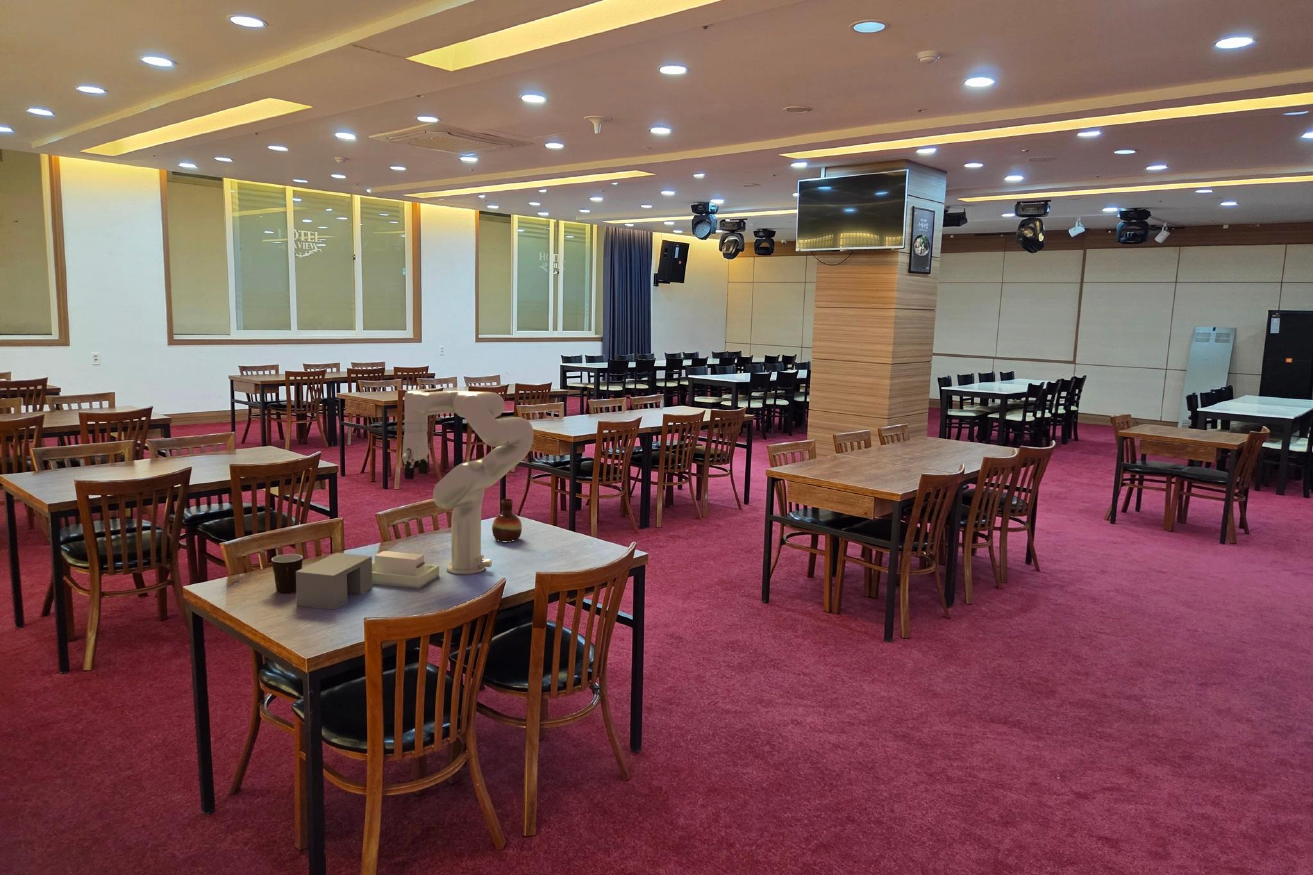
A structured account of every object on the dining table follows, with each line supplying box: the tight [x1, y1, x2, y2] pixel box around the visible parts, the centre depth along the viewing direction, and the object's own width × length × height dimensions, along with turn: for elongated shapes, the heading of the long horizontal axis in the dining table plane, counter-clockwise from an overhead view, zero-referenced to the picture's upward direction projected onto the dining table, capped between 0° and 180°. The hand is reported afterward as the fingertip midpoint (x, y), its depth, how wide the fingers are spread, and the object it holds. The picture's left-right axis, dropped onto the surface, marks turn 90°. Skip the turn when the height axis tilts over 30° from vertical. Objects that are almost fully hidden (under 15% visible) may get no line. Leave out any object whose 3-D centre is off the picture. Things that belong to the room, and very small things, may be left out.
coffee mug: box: [271, 553, 304, 595], centre depth 248 cm, size 12×9×10 cm
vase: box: [491, 498, 523, 542], centre depth 312 cm, size 11×11×15 cm
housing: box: [295, 552, 373, 610], centre depth 246 cm, size 12×20×10 cm, turn 168°
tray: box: [372, 560, 440, 590], centre depth 264 cm, size 22×13×4 cm, turn 78°
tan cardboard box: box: [374, 550, 426, 576], centre depth 263 cm, size 15×6×7 cm, turn 78°
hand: (416, 476), depth 284 cm, fingers open, 9 cm apart
